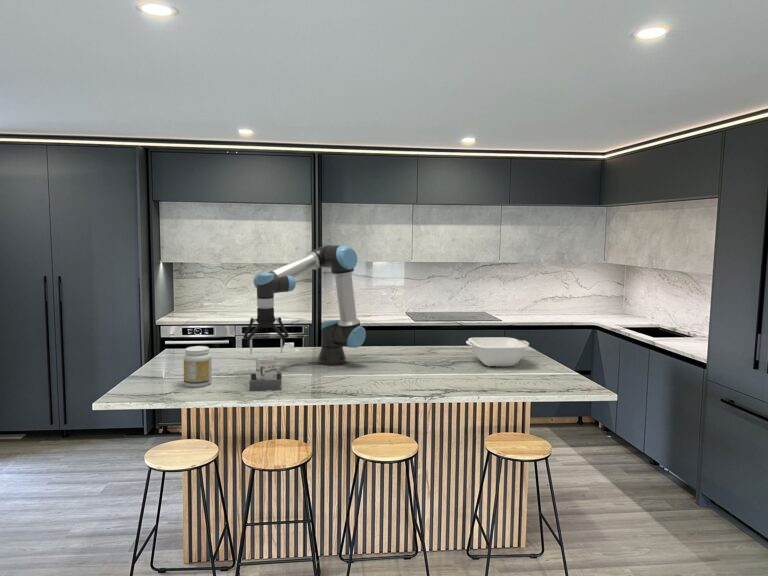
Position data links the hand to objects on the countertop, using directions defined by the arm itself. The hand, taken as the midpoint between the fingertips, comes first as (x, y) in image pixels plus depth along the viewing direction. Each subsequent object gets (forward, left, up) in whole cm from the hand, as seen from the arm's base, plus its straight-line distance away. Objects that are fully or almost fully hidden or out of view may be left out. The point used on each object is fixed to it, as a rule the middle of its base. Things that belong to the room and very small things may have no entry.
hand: (266, 353), depth 262 cm
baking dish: (-123, -32, -16) cm, 128 cm away
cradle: (0, 0, -16) cm, 15 cm away
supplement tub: (+31, -7, -16) cm, 36 cm away
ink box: (0, 0, -14) cm, 14 cm away
